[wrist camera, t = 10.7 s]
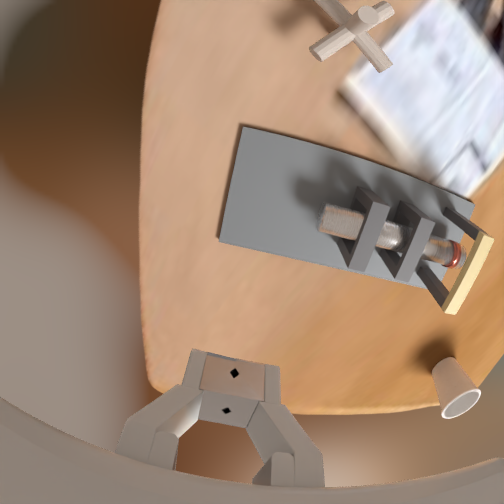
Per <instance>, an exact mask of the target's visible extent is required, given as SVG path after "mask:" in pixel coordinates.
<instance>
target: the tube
mask: <svg viewBox="0 0 504 504" xmlns="http://www.w3.org/2000/svg"><path fill="white" fill-rule="evenodd" d="M364 217H365V213H362V212H359V211H355V210H352V209H348V208H345V207H341V206H337V205H334V204H330V203H326V202H324V203H323V204H322V205H321V208H320V210H319V213H318V217H317V224H316V228H317V231H319V232H323V233H327V234H331V235H335V236H339V237H342V238H346V239H350V240H354V241H356V239H357V236H358V233H359V231H360V228H361V225H362V223H363V220H364ZM412 230H413V228H411V227H408V226H404V225H401V224H398V223H395V222H392V221H389V220H385V223H384V226H383V228H382V231H381V233H380V236H379V238H378V241H377V243H376V246H377V247H381V248H384V249H388V250H392V251H395V252H399V253H403V251H404V249H405V247H406V244H407V242H408V240H409V237H410V235H411V232H412ZM420 259H424V260H427V261H431V262H434V263H438V264H441V265H442V266H444V267H447V268H455V269H459V268H461V267H462V266H463V264H464V262H465V260H466V249H465V247H464V246H463V245H460V244H459V243H458V242H455V241H453V240H446V239H443V238H441V237H438V236H435V235H432V234H431V235H430V237H429V239H428V242H427V244H426V246H425V249H424V251H423V253H422V255H421V257H420Z"/></svg>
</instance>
